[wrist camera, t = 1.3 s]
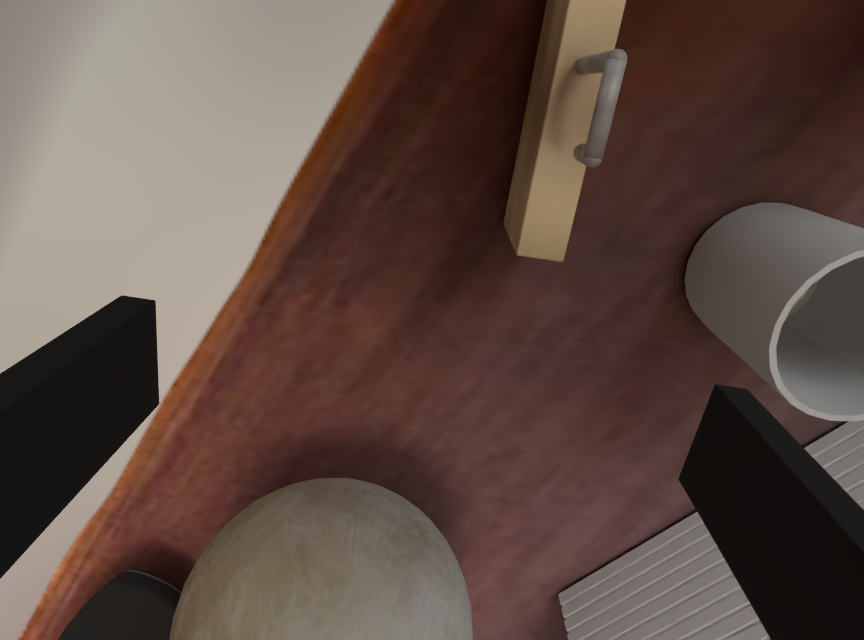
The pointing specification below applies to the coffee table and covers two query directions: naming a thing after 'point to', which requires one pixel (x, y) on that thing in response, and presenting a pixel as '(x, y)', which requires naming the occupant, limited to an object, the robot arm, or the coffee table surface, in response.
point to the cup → (787, 302)
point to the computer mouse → (127, 610)
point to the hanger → (564, 122)
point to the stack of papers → (690, 573)
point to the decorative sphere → (326, 571)
